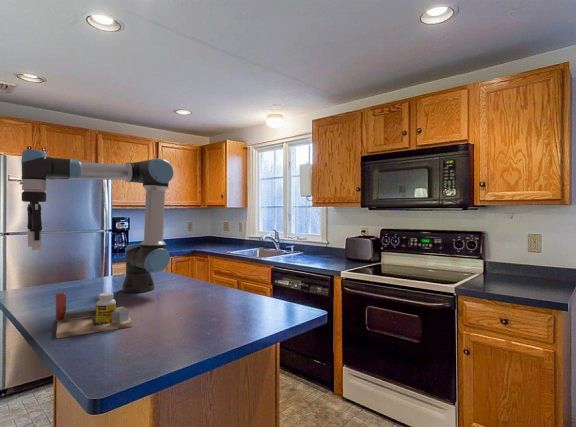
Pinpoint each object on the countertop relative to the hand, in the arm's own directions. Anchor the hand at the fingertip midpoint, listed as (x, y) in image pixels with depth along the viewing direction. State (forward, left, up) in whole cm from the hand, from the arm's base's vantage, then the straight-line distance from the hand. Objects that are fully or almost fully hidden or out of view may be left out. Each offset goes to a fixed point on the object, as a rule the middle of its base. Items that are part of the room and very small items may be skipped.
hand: (34, 247), depth 133 cm
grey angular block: (-26, +28, -26) cm, 46 cm away
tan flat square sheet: (-19, +19, -26) cm, 37 cm away
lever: (-15, +17, -24) cm, 33 cm away
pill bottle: (-22, +24, -26) cm, 42 cm away
